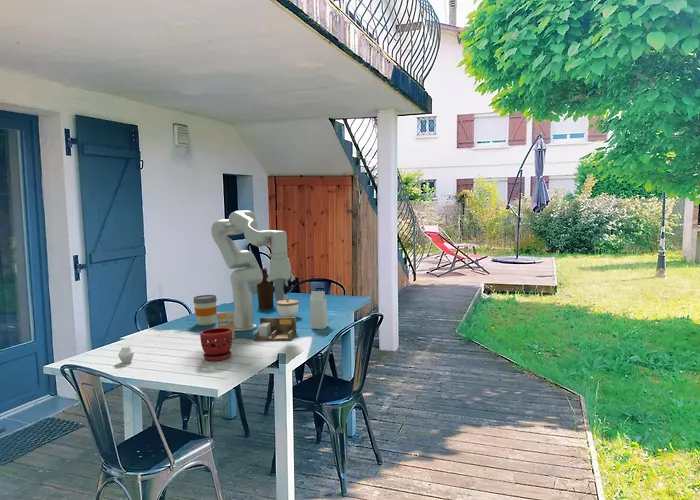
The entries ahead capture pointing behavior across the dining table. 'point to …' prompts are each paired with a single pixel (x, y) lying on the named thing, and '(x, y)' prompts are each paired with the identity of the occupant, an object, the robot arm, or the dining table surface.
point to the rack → (276, 329)
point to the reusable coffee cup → (205, 309)
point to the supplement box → (226, 321)
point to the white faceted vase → (126, 354)
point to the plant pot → (216, 343)
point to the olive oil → (265, 292)
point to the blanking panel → (280, 289)
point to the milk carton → (318, 310)
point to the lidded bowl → (287, 307)
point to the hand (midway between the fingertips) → (281, 293)
